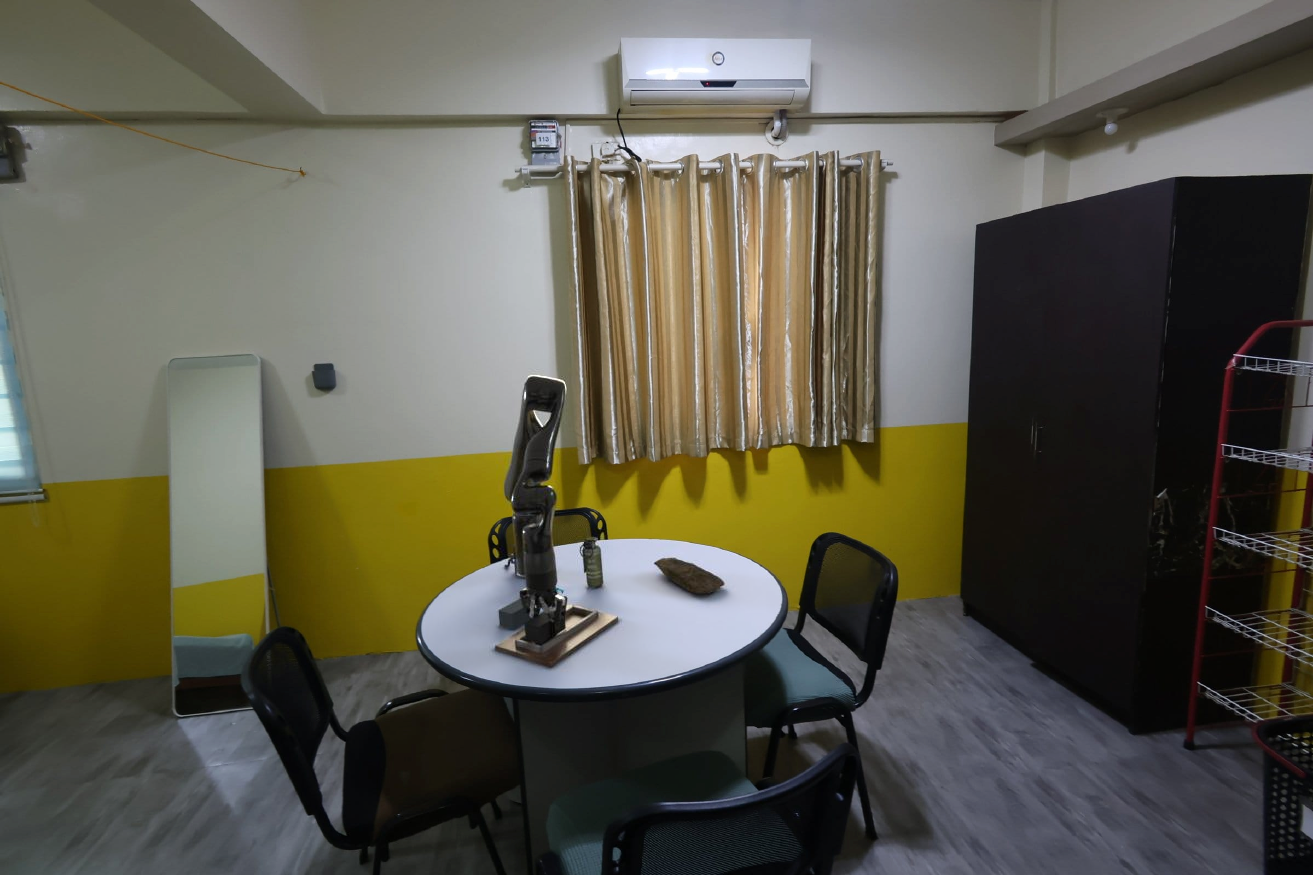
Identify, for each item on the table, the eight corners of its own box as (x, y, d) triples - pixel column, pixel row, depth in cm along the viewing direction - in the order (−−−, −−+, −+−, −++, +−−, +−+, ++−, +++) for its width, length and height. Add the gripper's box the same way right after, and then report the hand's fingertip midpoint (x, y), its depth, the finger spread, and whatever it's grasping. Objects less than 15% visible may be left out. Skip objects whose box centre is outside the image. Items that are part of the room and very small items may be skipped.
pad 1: (499, 626, 161) (498, 610, 160) (524, 612, 168) (522, 597, 168) (513, 630, 158) (511, 613, 157) (537, 616, 166) (536, 600, 165)
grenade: (605, 582, 186) (601, 535, 183) (601, 590, 180) (598, 541, 178) (585, 583, 187) (581, 535, 184) (581, 590, 181) (577, 542, 179)
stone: (702, 600, 170) (701, 580, 169) (649, 573, 191) (648, 555, 191) (731, 590, 175) (731, 571, 174) (677, 564, 197) (676, 547, 196)
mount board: (495, 649, 148) (494, 639, 148) (565, 607, 170) (564, 598, 169) (551, 667, 139) (550, 656, 138) (618, 620, 160) (617, 611, 160)
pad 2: (525, 640, 148) (524, 622, 147) (550, 624, 155) (549, 607, 154) (541, 644, 145) (539, 626, 144) (566, 628, 152) (564, 611, 152)
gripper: (573, 566, 147) (578, 632, 149) (529, 557, 154) (535, 620, 157) (552, 577, 140) (558, 646, 143) (507, 567, 148) (513, 633, 151)
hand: (546, 632), depth 150 cm, fingers closed on pad 2, 5 cm apart
